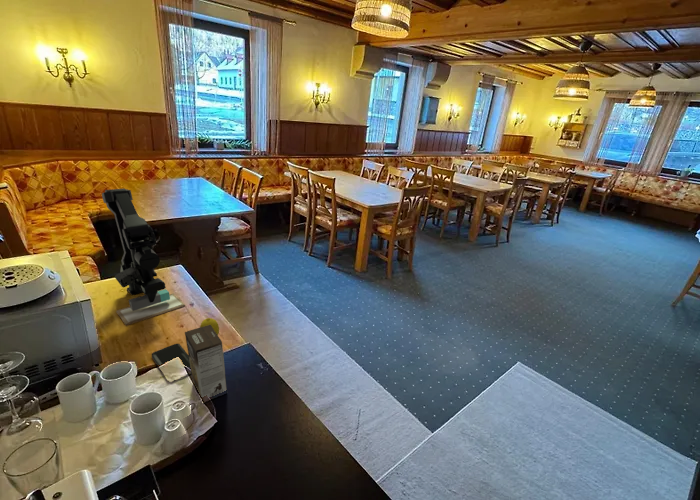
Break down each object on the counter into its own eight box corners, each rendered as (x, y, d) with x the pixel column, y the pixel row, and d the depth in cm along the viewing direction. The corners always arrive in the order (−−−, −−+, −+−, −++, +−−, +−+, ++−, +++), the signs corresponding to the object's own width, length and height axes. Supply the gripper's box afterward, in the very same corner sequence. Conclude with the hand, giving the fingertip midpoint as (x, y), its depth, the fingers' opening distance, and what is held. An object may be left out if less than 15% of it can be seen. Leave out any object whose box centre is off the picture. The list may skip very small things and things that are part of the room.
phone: (168, 381, 90) (150, 353, 99) (169, 384, 90) (150, 356, 100) (199, 367, 95) (178, 342, 105) (199, 371, 95) (179, 345, 105)
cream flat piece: (116, 312, 119) (115, 308, 119) (173, 294, 132) (173, 291, 132) (126, 325, 112) (125, 322, 112) (185, 305, 125) (184, 302, 125)
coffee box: (191, 383, 90) (183, 331, 84) (216, 373, 94) (210, 323, 88) (201, 405, 84) (194, 351, 78) (228, 394, 87) (222, 341, 82)
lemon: (223, 336, 110) (221, 314, 107) (215, 346, 105) (212, 324, 102) (206, 334, 110) (203, 312, 107) (197, 344, 105) (194, 322, 102)
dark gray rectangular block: (130, 307, 118) (128, 299, 117) (167, 296, 127) (165, 289, 125) (132, 310, 116) (131, 303, 115) (170, 299, 125) (169, 292, 124)
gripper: (106, 257, 116) (116, 297, 122) (123, 275, 104) (132, 319, 110) (143, 249, 123) (150, 288, 129) (162, 265, 112) (169, 307, 117)
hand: (150, 300), depth 121 cm, fingers closed on dark gray rectangular block, 3 cm apart
